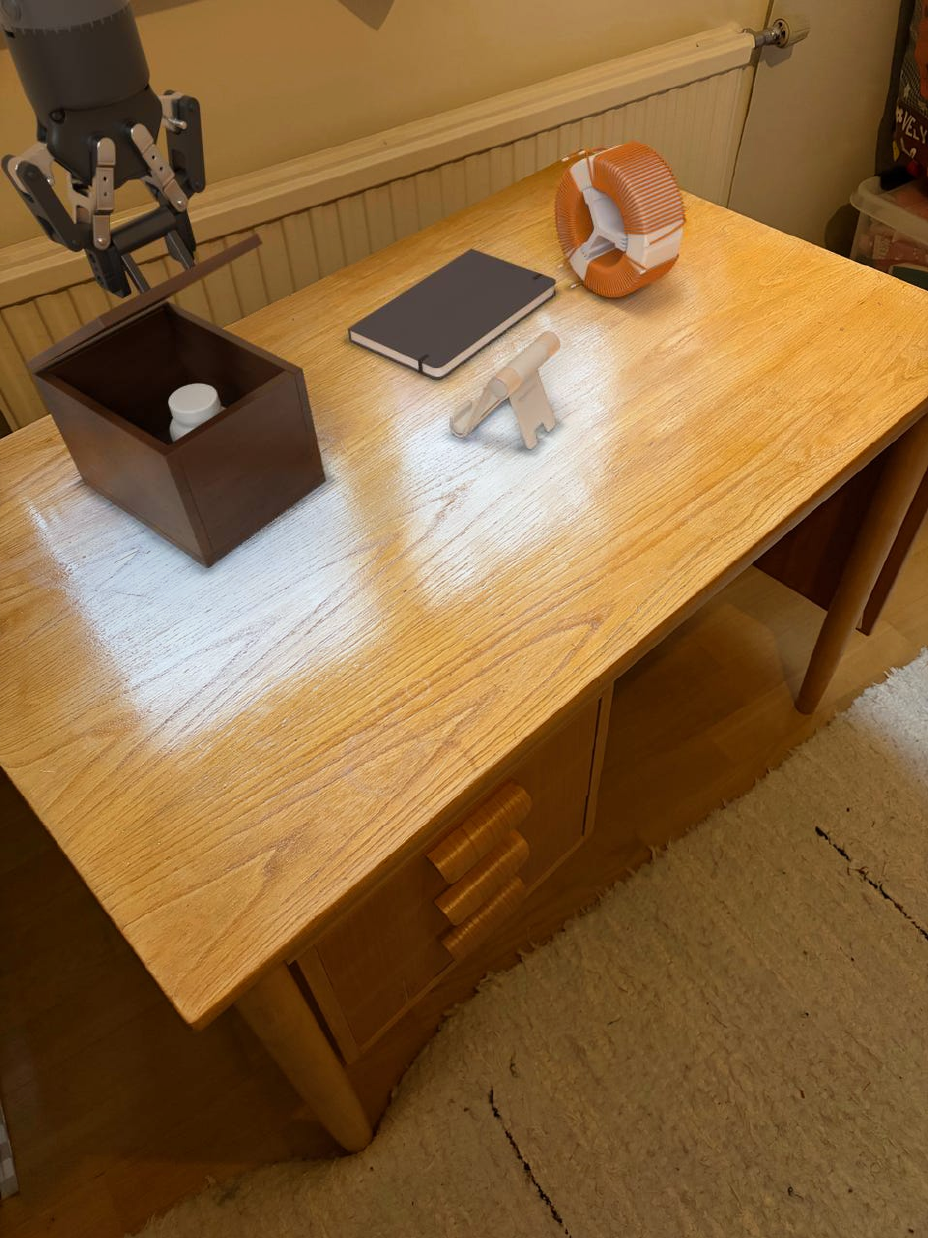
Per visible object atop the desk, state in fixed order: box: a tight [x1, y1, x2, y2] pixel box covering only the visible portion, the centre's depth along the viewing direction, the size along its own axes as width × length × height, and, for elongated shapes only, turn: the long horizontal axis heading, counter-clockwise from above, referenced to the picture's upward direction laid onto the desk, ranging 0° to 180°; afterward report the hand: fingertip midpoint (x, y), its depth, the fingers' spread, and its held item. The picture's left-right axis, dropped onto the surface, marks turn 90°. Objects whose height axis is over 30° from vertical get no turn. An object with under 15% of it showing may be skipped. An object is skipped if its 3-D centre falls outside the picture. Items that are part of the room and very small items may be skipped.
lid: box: [24, 205, 263, 373], centre depth 67 cm, size 19×14×5 cm
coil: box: [553, 140, 688, 299], centre depth 95 cm, size 7×15×15 cm, turn 37°
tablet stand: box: [449, 330, 561, 450], centre depth 82 cm, size 9×8×8 cm
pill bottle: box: [169, 384, 226, 442], centre depth 75 cm, size 5×5×10 cm
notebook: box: [347, 248, 557, 380], centre depth 97 cm, size 13×2×21 cm
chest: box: [30, 299, 327, 569], centre depth 76 cm, size 18×14×12 cm
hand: (151, 275), depth 64 cm, fingers closed on lid, 5 cm apart
